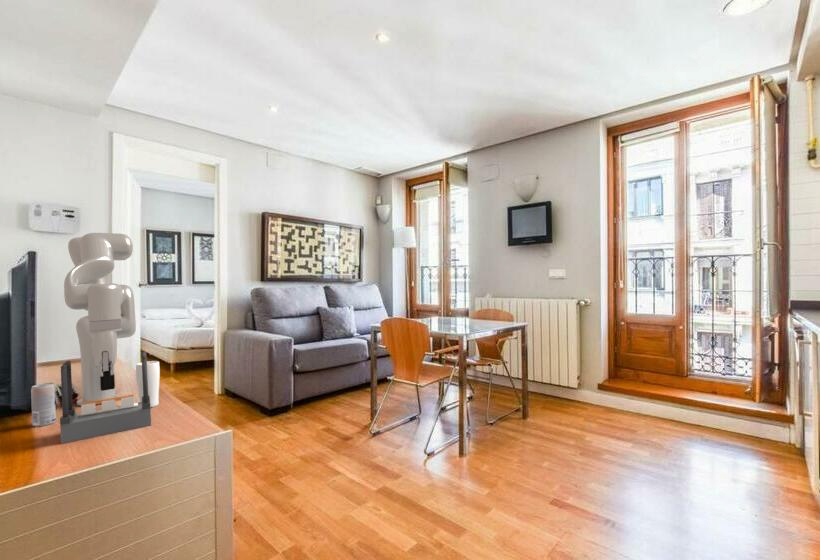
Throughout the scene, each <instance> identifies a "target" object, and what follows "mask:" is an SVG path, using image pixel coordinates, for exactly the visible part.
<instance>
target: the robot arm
mask: <svg viewBox="0 0 820 560" xmlns="http://www.w3.org/2000/svg"><path fill="white" fill-rule="evenodd" d="M133 246H134V245H133V242H132V239H131V238H130V237H129V236H128V235H127V234H125V233H113V232H90V233H86V234H84V235H83V236H79V237H77V236H76V237H72V238H70V239H69V241H68V245H67V248H68V253H69V256H70V259H71V261H72V263H73V265H74V267H73V268H72V269H70V271H69V272H68V273H67V274H66V276H65V279H64V284H63V288H64V289H63V291H64V292H63V293H64V295H63V297H64V301H65V305H66V306H67V307H68V308H69V309H71V310H78V311H79V310H84V311H87V315H85V316H82V317H80V318H79V319H78V321H77V322H76V324H75V325H76V326H75V329H76V334H77V335H76V336H77V338H78V345H79V352H80V370H81V371H80V372H81V374H80V376H81V394H82V397H81V398H80V399H78V400H77V401H76V405H77V406H80V407H81V403H82V402H87V401H93V400H99V399H105V398H111V397H117V396H122V395H121V393H120V392H116V382H115V381H116V379H115V376H116V375H115V365H116V363H117V362H116V361H117V357H118V355H117V354H118V353H117V352H118V339H123V338H125V339H126V338H130V337H132V336H134V335H135V333H136V329H137V326H136V325H137V323H136V322H137V321H136V311H135V310H136V309H135V306H136V305H135V296H134V291H133V290H132V289H133V288H131V286H129V285H127V284H118V283H110V282H109V275H110V274H111V273H112V272H113V271H114V269H115V261H126V260H127V259H128V260H129V258H130V257H131V256H132V255H133V252H134V251H133V249H134V247H133ZM96 405H98V404H96ZM100 405H102V403H101V404H100Z"/></svg>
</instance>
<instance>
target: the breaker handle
mask: <svg viewBox="0 0 820 560" xmlns="http://www.w3.org/2000/svg"><path fill="white" fill-rule="evenodd" d="M134 395H135V394H134V393H131V394H126V395H125V394H123V395H121V396H117V397H111V398H105V399H99V400H93V401H87V402H82V403H81V406H80V407H81V412H77V417H81V416H86V415H92V414H98V413H103V412H109V411H115V410H120V409H126V408H131V407H137V406H138V403H139V402H135V397H134ZM119 401H120V405H117V407H116V402H119ZM101 403H102V404H101ZM134 403H135V404H134ZM96 404H97V405H101V408H100V410H99V409H97V407H96Z"/></svg>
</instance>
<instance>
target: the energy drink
mask: <svg viewBox="0 0 820 560" xmlns="http://www.w3.org/2000/svg"><path fill="white" fill-rule="evenodd" d="M55 389H56V386H55V384H54V383H53V382H47V383H39V384H35V385H32V386H31V389H30V400H31V419H32V420H31V424H32V427H34V426H35V428H40V427H39V426H41V427H45V426H49V424H50V425H52V424H54V423H56V421H57V414H56V413H57V411H56V410H57V409H56V390H55Z"/></svg>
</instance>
